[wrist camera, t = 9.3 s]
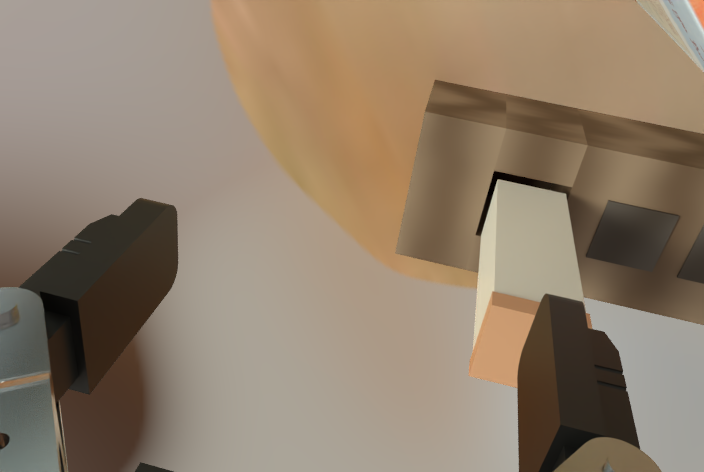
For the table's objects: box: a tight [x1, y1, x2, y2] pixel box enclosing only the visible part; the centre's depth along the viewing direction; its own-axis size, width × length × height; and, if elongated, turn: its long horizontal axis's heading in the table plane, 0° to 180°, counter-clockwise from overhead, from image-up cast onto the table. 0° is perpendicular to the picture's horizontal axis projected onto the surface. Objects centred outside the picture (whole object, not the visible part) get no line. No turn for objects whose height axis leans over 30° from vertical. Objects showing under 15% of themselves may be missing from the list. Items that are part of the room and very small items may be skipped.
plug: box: [469, 179, 592, 388], centre depth 33 cm, size 4×4×12 cm
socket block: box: [395, 80, 704, 325], centre depth 40 cm, size 22×10×6 cm, turn 82°
